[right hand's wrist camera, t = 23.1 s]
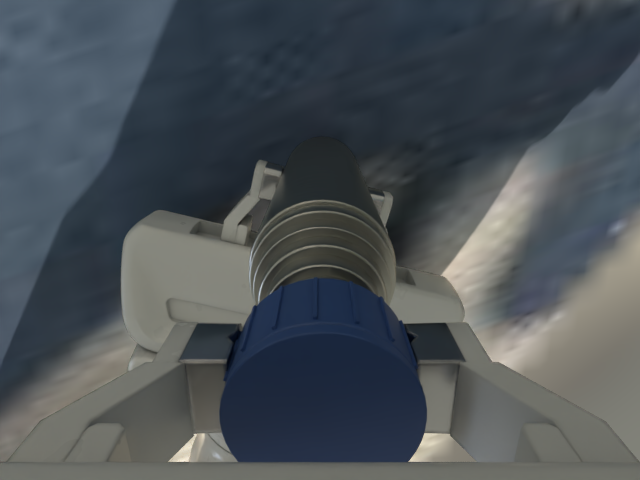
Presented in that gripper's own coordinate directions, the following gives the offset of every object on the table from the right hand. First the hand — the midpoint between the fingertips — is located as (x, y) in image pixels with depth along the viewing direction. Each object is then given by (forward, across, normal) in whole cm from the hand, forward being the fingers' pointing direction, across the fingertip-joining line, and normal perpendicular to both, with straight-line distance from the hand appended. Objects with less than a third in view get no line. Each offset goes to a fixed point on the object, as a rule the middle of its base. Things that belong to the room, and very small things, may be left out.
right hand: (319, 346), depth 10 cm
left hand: (+15, 0, -1) cm, 15 cm away
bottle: (+20, 0, 0) cm, 21 cm away
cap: (-2, 0, 0) cm, 2 cm away
